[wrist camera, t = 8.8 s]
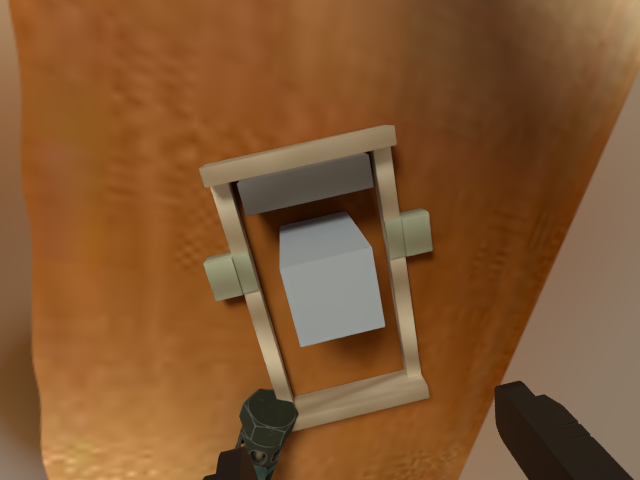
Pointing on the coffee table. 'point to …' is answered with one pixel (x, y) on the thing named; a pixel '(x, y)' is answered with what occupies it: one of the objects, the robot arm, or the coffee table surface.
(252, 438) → the stun grenade
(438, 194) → the coffee table surface
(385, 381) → the beam frame
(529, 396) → the robot arm
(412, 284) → the coffee table surface
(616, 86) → the coffee table surface
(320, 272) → the grey rectangular block
